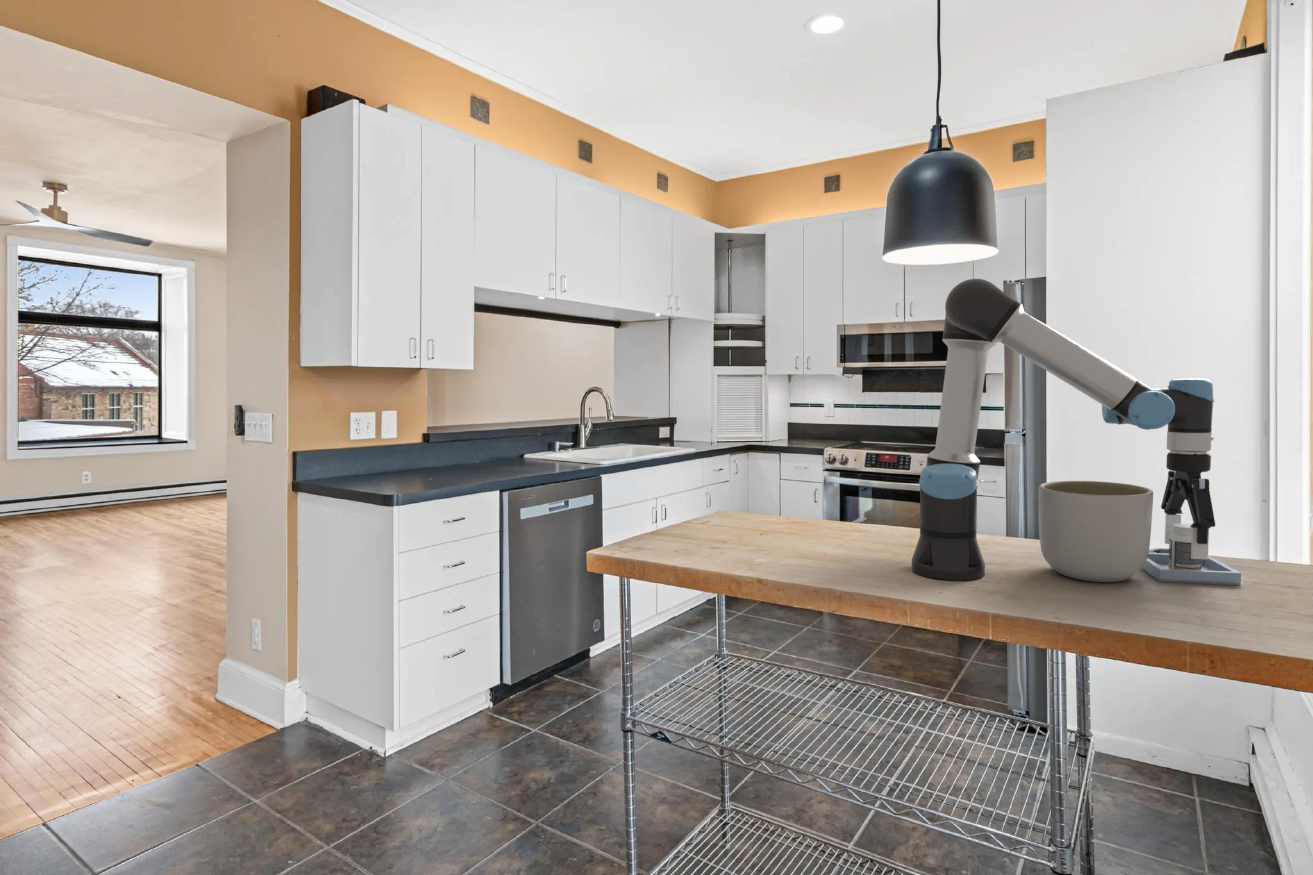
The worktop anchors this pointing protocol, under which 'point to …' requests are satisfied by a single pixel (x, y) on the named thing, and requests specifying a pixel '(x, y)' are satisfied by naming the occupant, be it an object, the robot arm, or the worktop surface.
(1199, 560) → the pill bottle
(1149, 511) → the planter
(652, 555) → the worktop surface
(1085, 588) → the worktop surface
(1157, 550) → the ring
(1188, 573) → the tray
